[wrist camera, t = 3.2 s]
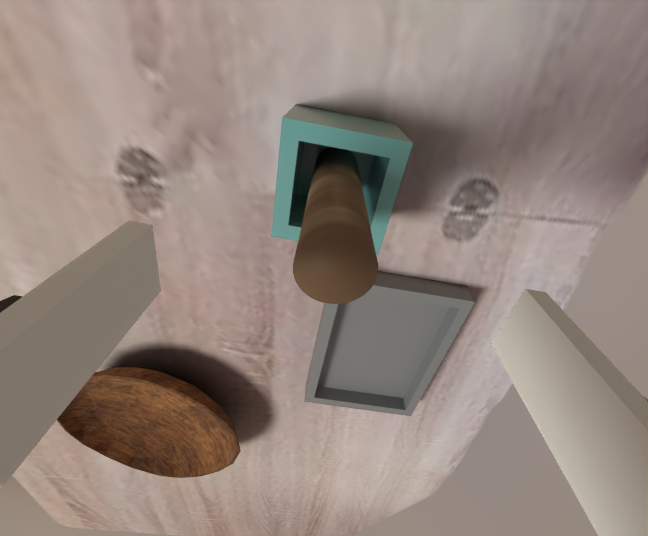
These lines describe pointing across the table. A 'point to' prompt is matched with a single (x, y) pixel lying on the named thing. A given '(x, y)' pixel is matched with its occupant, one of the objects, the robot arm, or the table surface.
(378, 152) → the teal square container
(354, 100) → the table surface
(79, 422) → the bowl
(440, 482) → the table surface
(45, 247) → the table surface
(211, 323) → the table surface
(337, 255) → the dowel
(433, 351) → the tray
